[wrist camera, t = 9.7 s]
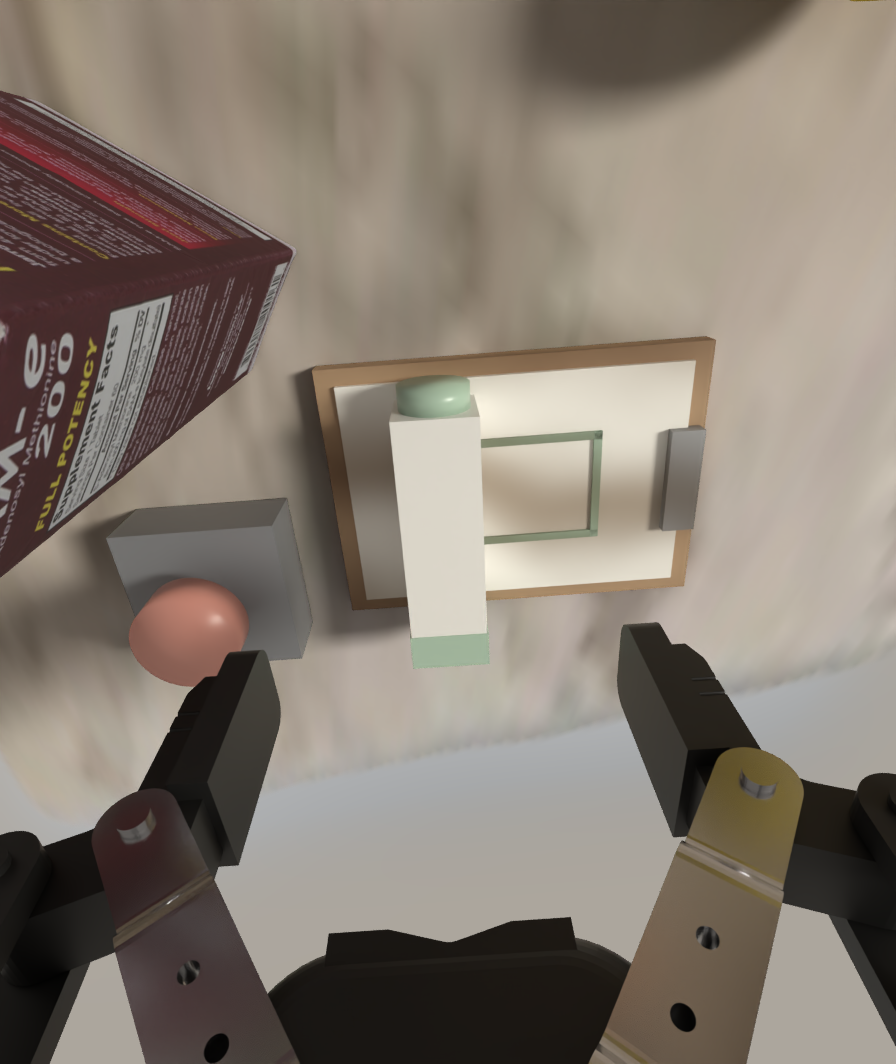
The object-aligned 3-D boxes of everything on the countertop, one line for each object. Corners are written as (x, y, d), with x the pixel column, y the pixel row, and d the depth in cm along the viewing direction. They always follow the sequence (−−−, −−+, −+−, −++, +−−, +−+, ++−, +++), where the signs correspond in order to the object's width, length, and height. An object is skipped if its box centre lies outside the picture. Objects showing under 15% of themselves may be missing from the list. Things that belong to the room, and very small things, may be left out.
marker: (384, 397, 18) (413, 668, 23) (480, 390, 18) (489, 664, 23) (390, 376, 20) (414, 623, 25) (474, 370, 20) (483, 619, 25)
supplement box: (3, 254, 19) (-1142, 313, 5) (36, 96, 18) (-1598, -469, 3) (255, 380, 22) (-80, 669, 7) (308, 251, 20) (-5, 302, 5)
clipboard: (315, 366, 21) (308, 374, 20) (706, 336, 21) (723, 342, 20) (354, 599, 26) (350, 618, 25) (676, 576, 26) (689, 593, 24)
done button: (134, 581, 21) (114, 605, 20) (236, 573, 21) (223, 597, 19) (163, 662, 22) (146, 690, 21) (258, 655, 22) (247, 682, 21)
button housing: (136, 509, 24) (105, 538, 21) (286, 497, 24) (272, 525, 21) (177, 632, 26) (154, 669, 24) (312, 622, 26) (301, 658, 24)
